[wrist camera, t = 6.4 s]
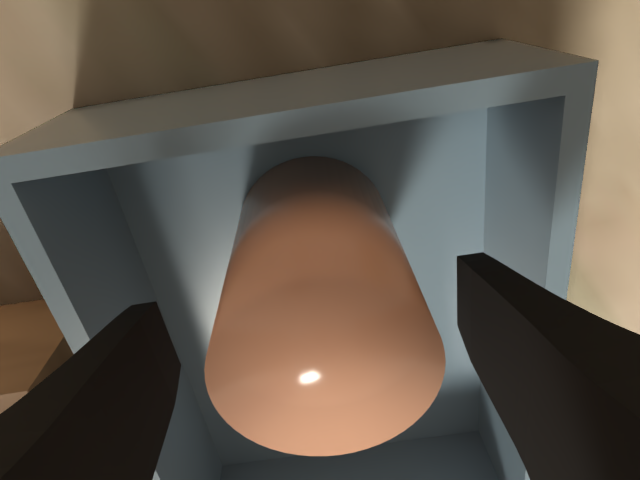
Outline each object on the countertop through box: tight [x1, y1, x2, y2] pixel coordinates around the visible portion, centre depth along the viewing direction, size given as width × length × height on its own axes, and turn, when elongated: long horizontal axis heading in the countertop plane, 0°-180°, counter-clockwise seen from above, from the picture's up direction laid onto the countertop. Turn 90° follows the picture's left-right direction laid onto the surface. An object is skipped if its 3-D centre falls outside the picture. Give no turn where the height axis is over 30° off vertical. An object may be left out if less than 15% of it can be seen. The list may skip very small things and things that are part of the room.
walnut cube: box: [0, 299, 74, 414], centre depth 16 cm, size 5×5×5 cm
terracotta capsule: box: [204, 156, 446, 456], centre depth 13 cm, size 5×5×7 cm
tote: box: [0, 39, 599, 480], centre depth 16 cm, size 17×13×5 cm
